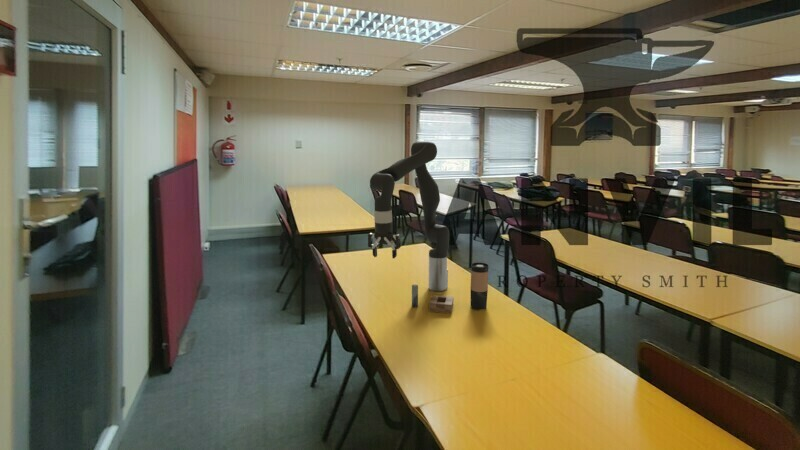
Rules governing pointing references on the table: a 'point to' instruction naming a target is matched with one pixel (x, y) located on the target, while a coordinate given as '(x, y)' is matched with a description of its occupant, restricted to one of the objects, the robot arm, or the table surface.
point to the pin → (414, 295)
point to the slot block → (441, 304)
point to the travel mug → (479, 285)
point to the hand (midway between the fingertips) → (384, 257)
